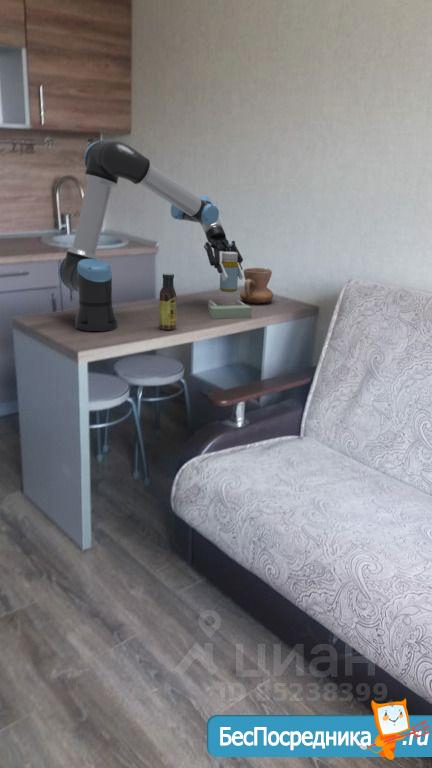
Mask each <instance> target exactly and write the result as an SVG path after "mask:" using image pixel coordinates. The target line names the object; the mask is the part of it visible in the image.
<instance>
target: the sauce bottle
mask: <svg viewBox="0 0 432 768" xmlns="http://www.w3.org/2000/svg"><path fill="white" fill-rule="evenodd" d="M174 279H175V274H174V273H173V272H164V273H162V287H161V289H160V291H159V300H158V301H159V304H158V323H159V324H158V326H159V329H160V330H165V331H169V330H171V331H172V330H175V329H176V325H177V300H178V298H177V293H176V291H175V290H176V289H175V287H174Z"/></svg>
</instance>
